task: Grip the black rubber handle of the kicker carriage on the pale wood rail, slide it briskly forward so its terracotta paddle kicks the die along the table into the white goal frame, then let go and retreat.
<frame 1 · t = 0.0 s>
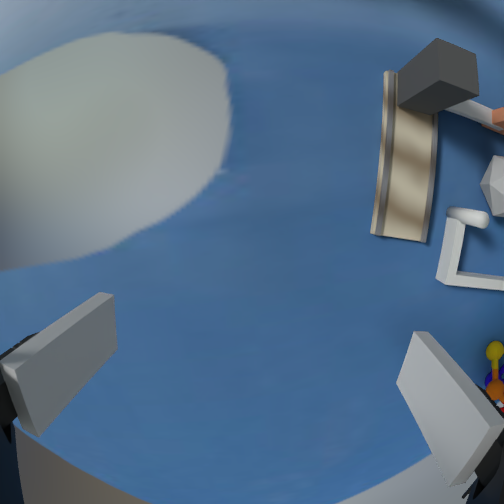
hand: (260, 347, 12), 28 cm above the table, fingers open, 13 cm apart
goal: (484, 251, 38), on the table
die: (492, 186, 36), on the table
rail: (407, 155, 36), on the table
molecular model: (493, 368, 42), on the table
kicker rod: (486, 103, 27), point 7 cm above the table, slide at 0.0 cm
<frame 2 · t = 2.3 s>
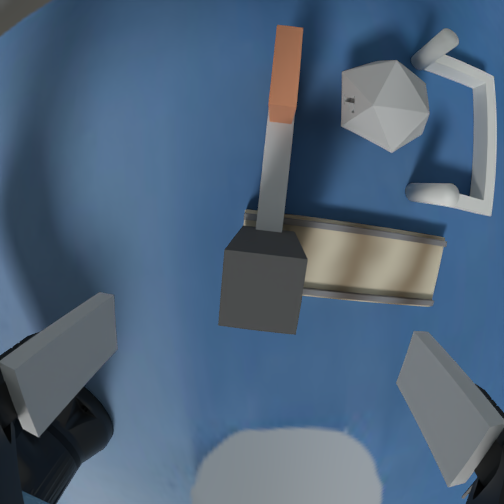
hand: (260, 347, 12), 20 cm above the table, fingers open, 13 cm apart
goal: (451, 133, 28), on the table
die: (372, 112, 29), on the table
rail: (346, 260, 32), on the table
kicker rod: (276, 162, 24), point 7 cm above the table, slide at 0.0 cm
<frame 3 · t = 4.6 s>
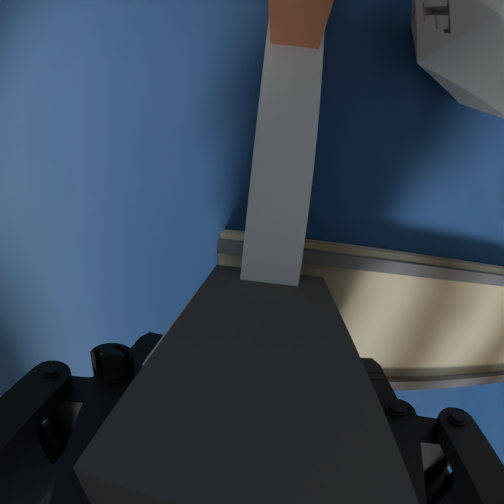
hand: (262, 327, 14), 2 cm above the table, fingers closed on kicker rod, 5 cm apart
die: (451, 59, 13), on the table
rail: (410, 322, 16), on the table
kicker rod: (290, 113, 8), point 7 cm above the table, slide at 0.0 cm, touching gripper
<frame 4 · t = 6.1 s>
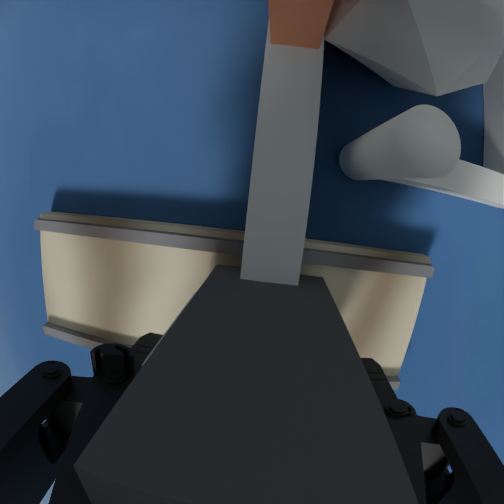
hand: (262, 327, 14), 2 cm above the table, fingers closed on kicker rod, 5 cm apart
goal: (435, 51, 13), on the table
die: (390, 41, 13), on the table, touching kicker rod
rail: (213, 302, 17), on the table
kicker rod: (290, 113, 8), point 7 cm above the table, slide at 11.2 cm, touching die, gripper
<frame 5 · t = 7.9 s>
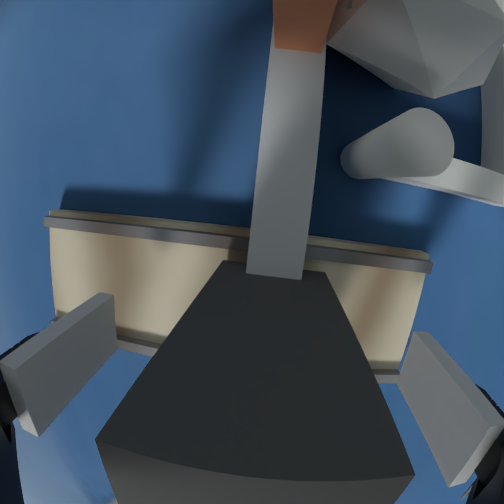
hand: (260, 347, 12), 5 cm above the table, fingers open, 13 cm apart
goal: (434, 53, 13), on the table
die: (390, 44, 14), on the table
rail: (219, 297, 17), on the table
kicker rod: (294, 115, 9), point 7 cm above the table, slide at 11.2 cm
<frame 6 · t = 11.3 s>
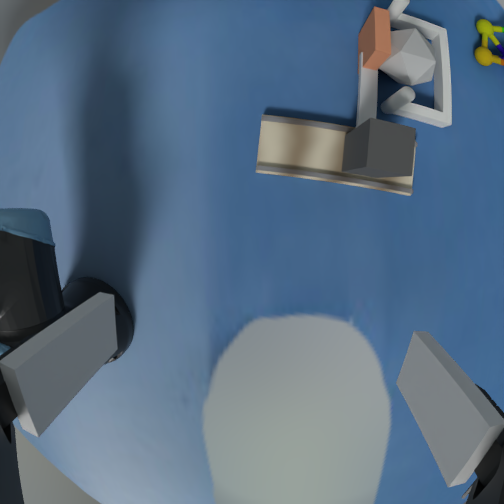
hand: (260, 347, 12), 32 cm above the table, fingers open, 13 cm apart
goal: (414, 69, 36), on the table
die: (397, 66, 37), on the table
rail: (339, 154, 40), on the table
molecular model: (498, 57, 34), on the table
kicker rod: (376, 87, 32), point 7 cm above the table, slide at 11.2 cm
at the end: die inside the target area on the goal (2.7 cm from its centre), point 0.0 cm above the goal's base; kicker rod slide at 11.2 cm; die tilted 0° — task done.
